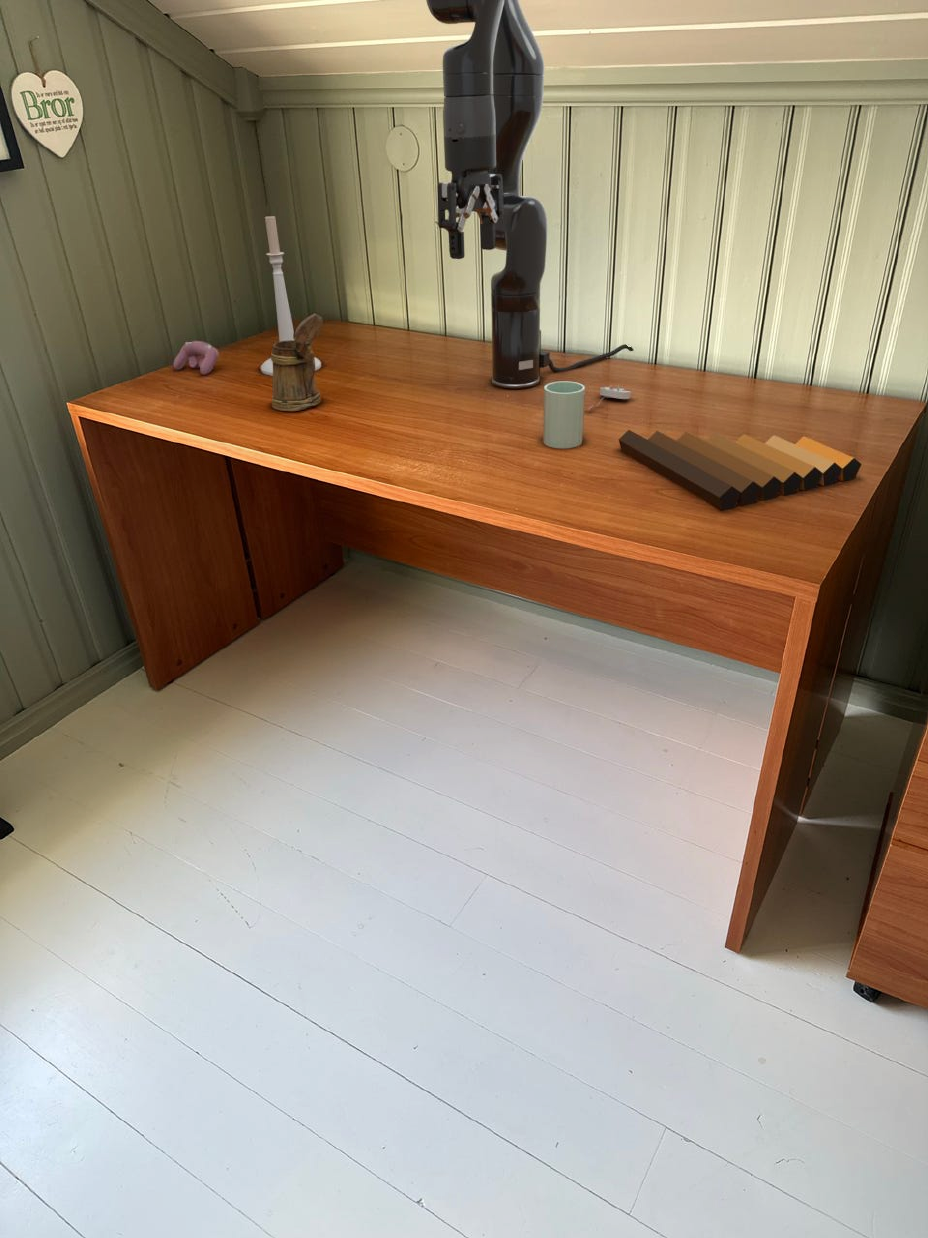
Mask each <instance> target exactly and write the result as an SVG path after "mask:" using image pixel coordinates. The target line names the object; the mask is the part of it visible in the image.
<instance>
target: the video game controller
mask: <svg viewBox="0 0 928 1238" xmlns="http://www.w3.org/2000/svg"><path fill="white" fill-rule="evenodd" d="M219 356H220V354H219V350H218V349H217V348H216V347H214V346H213V345H211V344H210V343H208V342H206V341H201V340H193V341H190V342H189V341H186V342H185V343H184V344H183V345H182V347H181V348H180V350H179V352H178V354H177V355H176V356H175V358H174V360H173V363H172V365H173V369H174V370H175V371H179V370H180V371H181V370H182V369H183V368H184V367H185V366H187V364H188V365H189V367H190V368H193V369H199V372H200V374H201V375H203V376H206V375H208V374H210V373H211V372H212V370H213V369H214V367H215V366H216V364H217V363H216V362H217V361H218V359H219ZM200 357H202V358H201V359H200Z"/></svg>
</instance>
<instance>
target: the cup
mask: <svg viewBox="0 0 928 1238" xmlns="http://www.w3.org/2000/svg"><path fill="white" fill-rule="evenodd" d="M585 395H586V386H585V385H583V384H582V383H579V382H575V381H570V380H569V381H566V380H565V381H564V380H563V381H562V380H561V381H553V382H549V383H547V384H545V385H544V387H543V411H542V412H543V414H542V415H543V416H542V419H543V420H542V442H543V444H544V445H545V446H547V447H548V448H549V447H550V448H554V449H572V448H576V447H579V446H581V445H582V443H583V437H584V420H585V418H584V417H585V400H586V399H585Z"/></svg>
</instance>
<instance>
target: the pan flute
mask: <svg viewBox="0 0 928 1238" xmlns="http://www.w3.org/2000/svg"><path fill="white" fill-rule="evenodd" d="M618 442H619V446H620V447H619V448H620V451H621V453H623V454H625V455H627V456H628V457H630V458H632V459H633V460H635V461H637V462H638V463H640V464H641V465H644V466H645V467H647V468H648V469H650V470H652V471H653V472H655V473H657V474H658V475H661V476H662V477H663V478H666V479H667V480H669V481H670V482H672V483H674V484H675V485H677V486H679V487H680V488H683V489H684V490H685V491H687V492H689V493H691V494H693V495H694V496H696V497H698V498H699V499H701V500H702V501H704V502H705V503H708V504H709V505H711V506H713V507H714V508H716V509H718V510H719V511H721V512H722V511H726V510H731V509H735V508H736V506H737V504H739V505H741V506H747V505H752V504H756V503H757V501H758V499H760V500H762V501H768V500H772V499H773V500H774V499H776V498H778V495H779V494H780V495H782V496H784V497H785V496H790V495H793V494H797V493H798V491H799V489H800V490H801V491H804V492H806V491H810V490H813V489H817V488H818V486H819V485H820V486H823V487H827V486H830V485H835V484H837V482H838V480H839V481H841V482H847V481H850V480H851V481H852V480H855V479H856V477H857V475H858V473H859V471H860V468H861V466H862V463H861V461H859V460H857V459H856V458H855V457H854V456H851V455H849V454H847V453H844V452H842V451H840V450H837V449H835V448H832V447H830V446H828V445H826V444H823V443H821V442H819V441H816V440H815V439H811V438H809V437H807V436H802V437H801V438H800V439H799V440H798V441H797V442H796V443H793V442H790V441H788V440H786V439H784V438H781V437H780V436H777V435H775V434H773V435H772V436H771V437H770V438H769V439H767V441H765V443H764V442H762V441H760V440H758V439H756V438H754V437H751V436H750V435H747V434H745V433H743V434H742V435H741V436H739V438H738V439H737V440H736V441H732V440H731V439H728V438H726V437H724V436H722V435H720V434H718V433H716V432H714V433H713V434H711V436H710V437H709V438H707V439H706V440H703V439H702V438H699V437H697V436H695V435H694V434H692V433H689V432H687V431H685V432H683V434H681V436H680V437H679V438H677V440H676V439H674V438H672V437H670V436H668V435H666V434H664V433H662V432H660V431H659V430H656V431H655V432H654V433H653V434H652V435H651V436H650V437H649V438H648V439H647V438H645V437H643V436H641V435H639V434H638V433H636V432H634V431H632V430H631V429H628V430H627V431H626V432H625V433H624V434H623V435H621V437H620V438H619V439H618Z"/></svg>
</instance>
